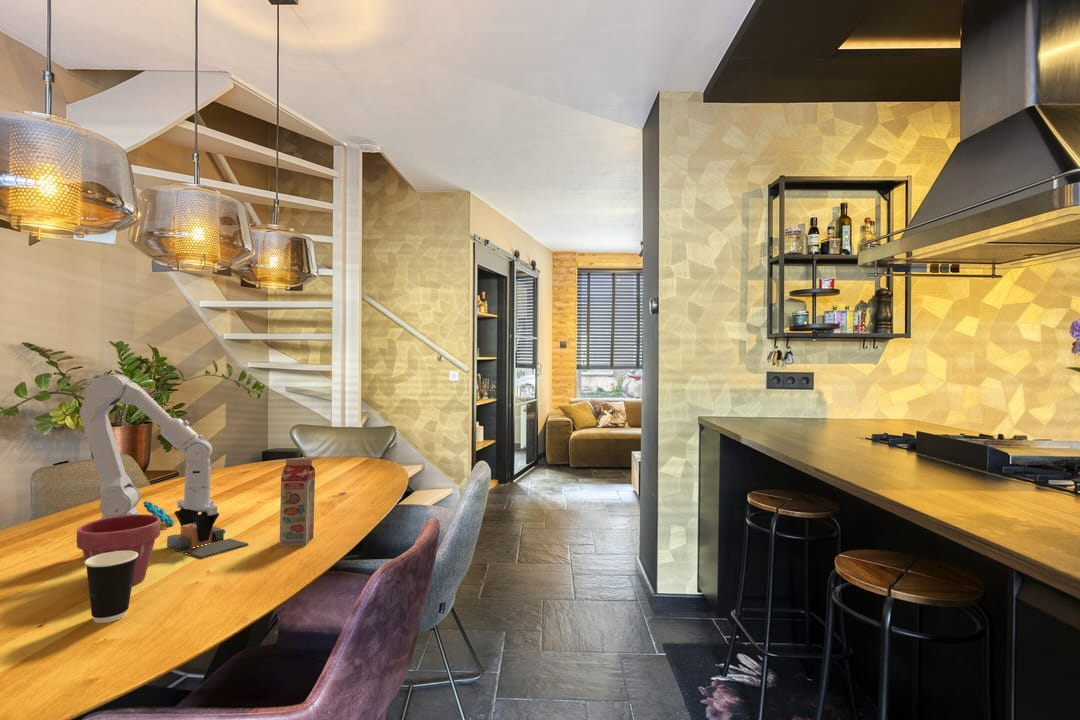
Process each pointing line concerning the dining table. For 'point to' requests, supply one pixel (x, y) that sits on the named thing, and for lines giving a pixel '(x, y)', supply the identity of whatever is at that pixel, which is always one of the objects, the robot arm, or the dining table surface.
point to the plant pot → (121, 538)
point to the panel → (215, 548)
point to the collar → (193, 535)
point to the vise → (183, 542)
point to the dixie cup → (110, 584)
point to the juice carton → (297, 503)
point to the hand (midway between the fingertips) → (196, 538)
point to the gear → (158, 513)
